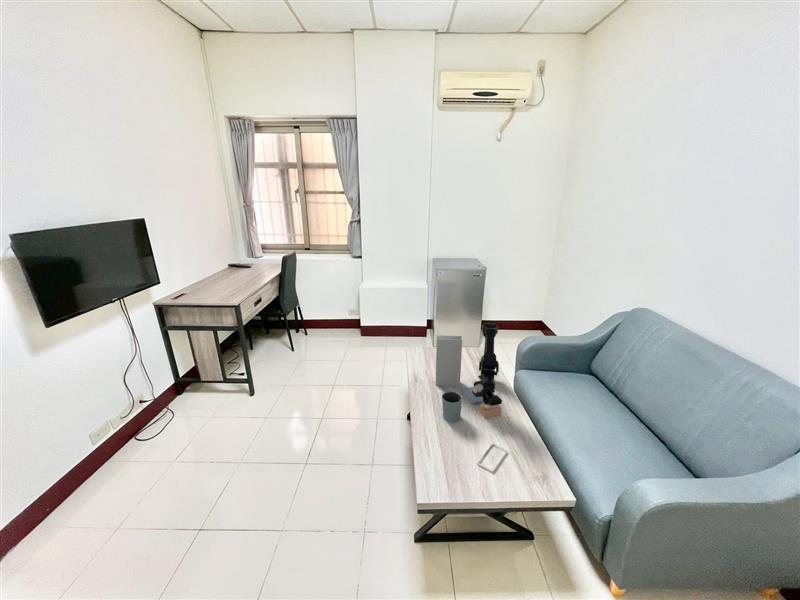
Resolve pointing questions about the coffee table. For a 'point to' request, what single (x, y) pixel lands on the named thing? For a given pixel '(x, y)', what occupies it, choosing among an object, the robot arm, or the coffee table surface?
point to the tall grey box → (448, 360)
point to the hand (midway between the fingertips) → (486, 406)
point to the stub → (490, 411)
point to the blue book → (472, 396)
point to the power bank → (498, 462)
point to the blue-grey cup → (451, 406)
